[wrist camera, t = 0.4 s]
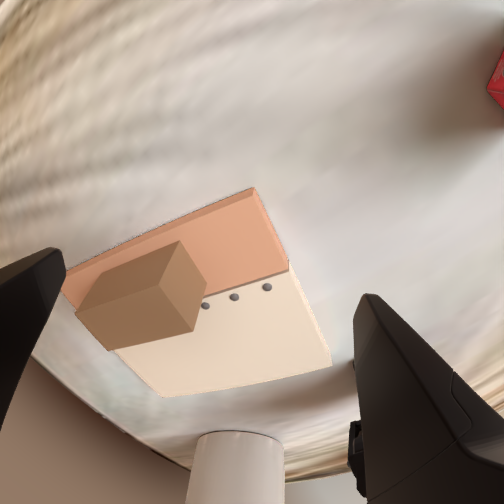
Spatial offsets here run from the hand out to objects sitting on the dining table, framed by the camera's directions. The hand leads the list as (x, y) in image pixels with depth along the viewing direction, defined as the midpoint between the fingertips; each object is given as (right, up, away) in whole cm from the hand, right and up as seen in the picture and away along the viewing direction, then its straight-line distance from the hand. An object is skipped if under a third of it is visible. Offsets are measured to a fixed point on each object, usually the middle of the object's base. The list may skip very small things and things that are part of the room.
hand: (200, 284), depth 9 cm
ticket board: (-2, -8, +21) cm, 22 cm away
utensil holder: (0, -30, +35) cm, 46 cm away
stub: (-6, 0, +17) cm, 18 cm away
